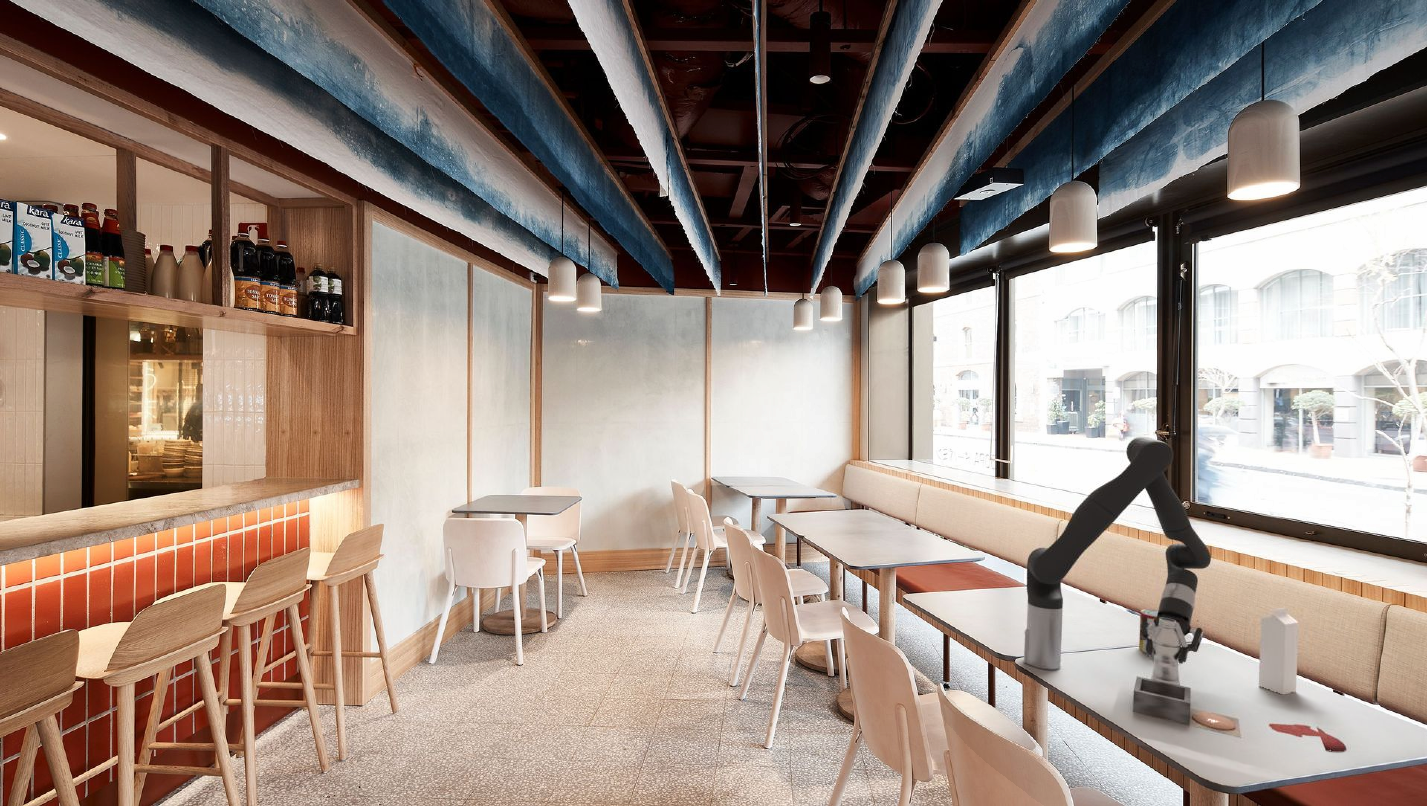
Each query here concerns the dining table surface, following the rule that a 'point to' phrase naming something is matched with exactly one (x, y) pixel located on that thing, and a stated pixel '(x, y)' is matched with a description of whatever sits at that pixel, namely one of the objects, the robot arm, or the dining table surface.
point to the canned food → (1150, 615)
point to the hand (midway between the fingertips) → (1164, 658)
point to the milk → (1278, 652)
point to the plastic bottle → (1166, 652)
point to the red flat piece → (1300, 730)
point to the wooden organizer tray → (1171, 704)
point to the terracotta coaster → (1213, 721)
